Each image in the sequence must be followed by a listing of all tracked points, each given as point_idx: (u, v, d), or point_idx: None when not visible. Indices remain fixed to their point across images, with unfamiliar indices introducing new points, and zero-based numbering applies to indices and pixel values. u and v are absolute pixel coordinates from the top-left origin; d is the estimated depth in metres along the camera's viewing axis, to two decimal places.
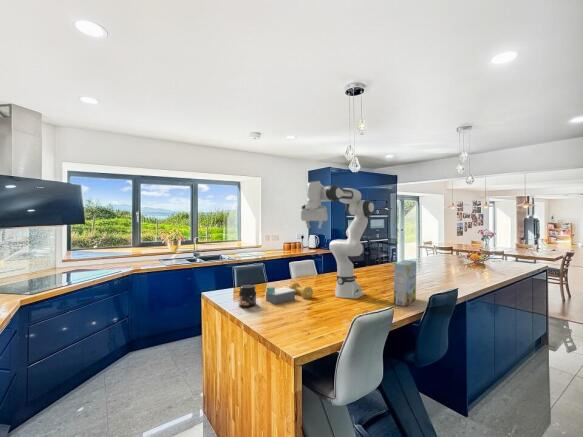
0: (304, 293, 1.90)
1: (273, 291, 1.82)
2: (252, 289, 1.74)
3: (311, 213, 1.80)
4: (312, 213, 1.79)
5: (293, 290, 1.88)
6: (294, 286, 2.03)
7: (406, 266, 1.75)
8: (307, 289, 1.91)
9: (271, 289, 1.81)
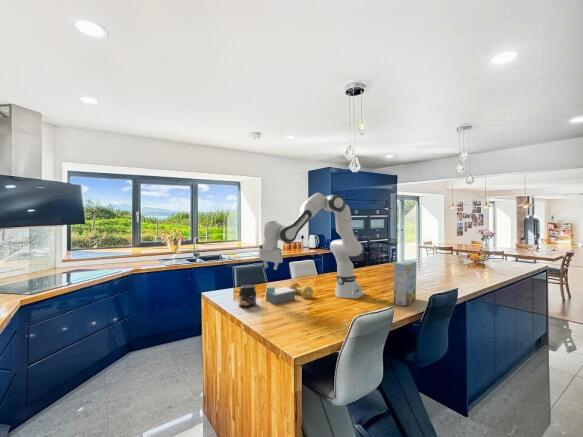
0: (304, 293, 1.90)
1: (273, 291, 1.82)
2: (252, 289, 1.74)
3: (268, 254, 1.82)
4: (269, 254, 1.81)
5: (293, 290, 1.88)
6: (294, 286, 2.03)
7: (406, 266, 1.75)
8: (307, 289, 1.91)
9: (271, 289, 1.81)
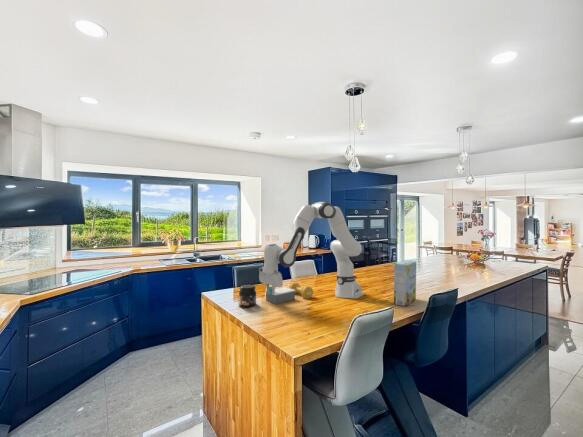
0: (304, 293, 1.90)
1: None
2: (252, 289, 1.74)
3: (268, 277, 1.82)
4: (269, 277, 1.81)
5: (293, 290, 1.88)
6: (294, 286, 2.02)
7: (406, 266, 1.75)
8: (307, 289, 1.91)
9: None
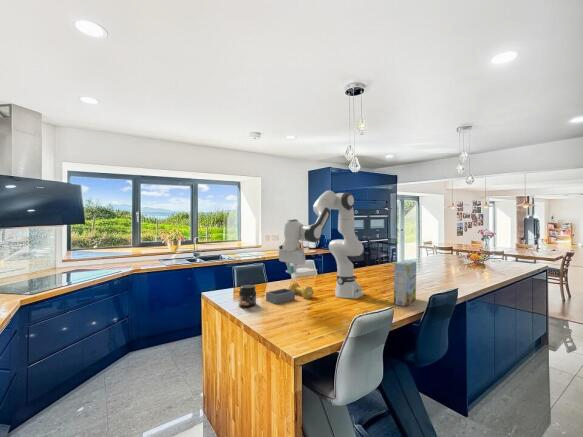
0: (305, 293, 1.90)
1: None
2: (252, 289, 1.74)
3: (288, 254, 1.69)
4: (289, 255, 1.68)
5: (315, 270, 1.75)
6: (294, 286, 2.02)
7: (406, 266, 1.75)
8: (308, 289, 1.92)
9: None
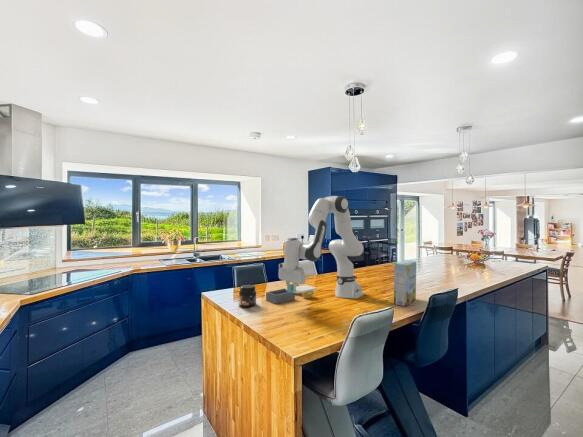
0: (305, 293, 1.90)
1: None
2: (252, 289, 1.74)
3: (288, 273, 1.68)
4: (289, 273, 1.68)
5: (315, 288, 1.74)
6: None
7: (406, 266, 1.75)
8: None
9: None
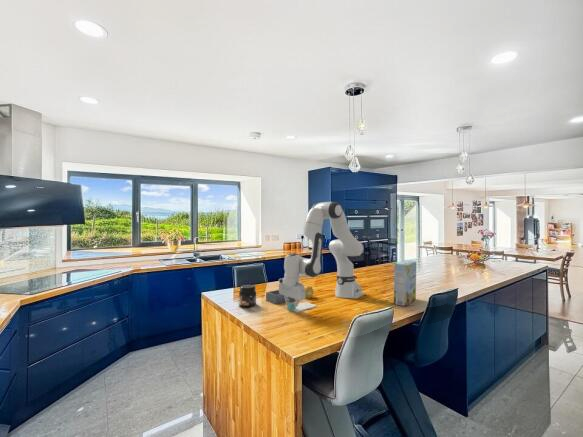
0: (305, 293, 1.90)
1: (294, 307, 1.68)
2: (252, 289, 1.74)
3: (289, 289, 1.68)
4: (289, 289, 1.68)
5: (315, 306, 1.74)
6: None
7: (406, 266, 1.75)
8: (308, 289, 1.92)
9: (292, 305, 1.67)
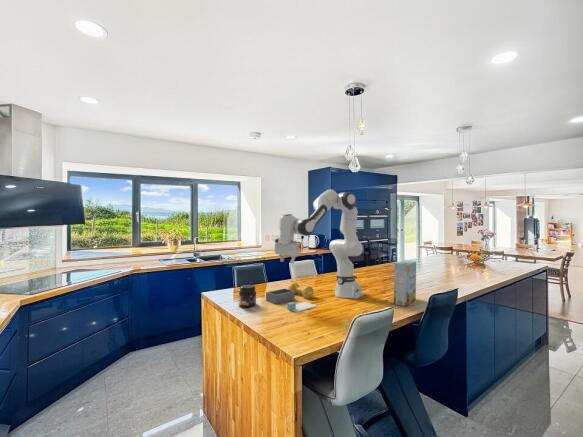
0: (306, 293, 1.90)
1: (294, 307, 1.68)
2: (252, 289, 1.74)
3: (284, 247, 1.79)
4: (285, 247, 1.79)
5: (315, 306, 1.74)
6: (294, 286, 2.02)
7: (406, 266, 1.75)
8: (308, 289, 1.92)
9: (292, 305, 1.67)
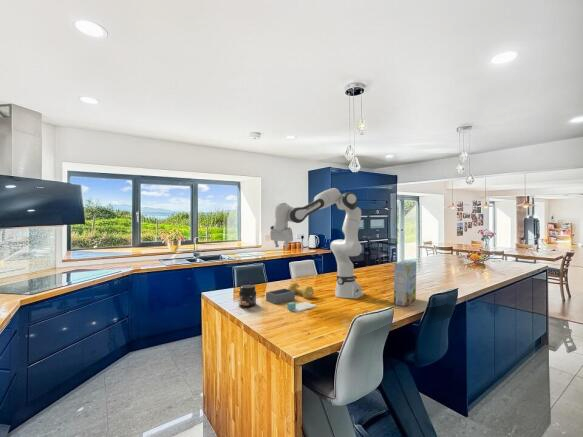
0: (306, 293, 1.91)
1: (294, 307, 1.68)
2: (252, 289, 1.74)
3: (279, 234, 1.93)
4: (279, 234, 1.92)
5: (315, 306, 1.74)
6: (294, 286, 2.02)
7: (406, 266, 1.75)
8: (308, 289, 1.92)
9: (292, 305, 1.67)
